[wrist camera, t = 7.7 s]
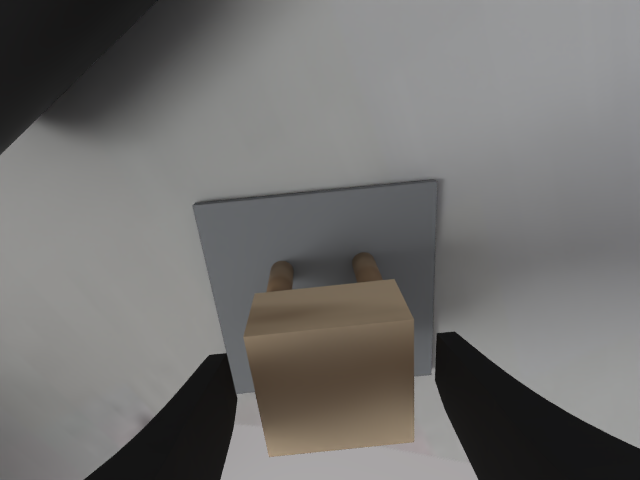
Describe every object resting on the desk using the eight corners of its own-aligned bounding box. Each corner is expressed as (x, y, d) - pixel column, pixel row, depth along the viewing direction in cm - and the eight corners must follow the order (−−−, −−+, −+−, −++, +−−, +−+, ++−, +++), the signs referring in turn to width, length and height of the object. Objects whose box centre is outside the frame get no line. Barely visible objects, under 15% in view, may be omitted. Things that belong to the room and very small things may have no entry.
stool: (382, 340, 17) (414, 441, 12) (279, 351, 17) (268, 456, 12) (378, 246, 16) (414, 319, 10) (263, 258, 16) (243, 337, 10)
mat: (434, 179, 15) (437, 181, 15) (428, 369, 19) (431, 374, 18) (195, 202, 15) (192, 205, 15) (237, 388, 19) (236, 393, 18)
